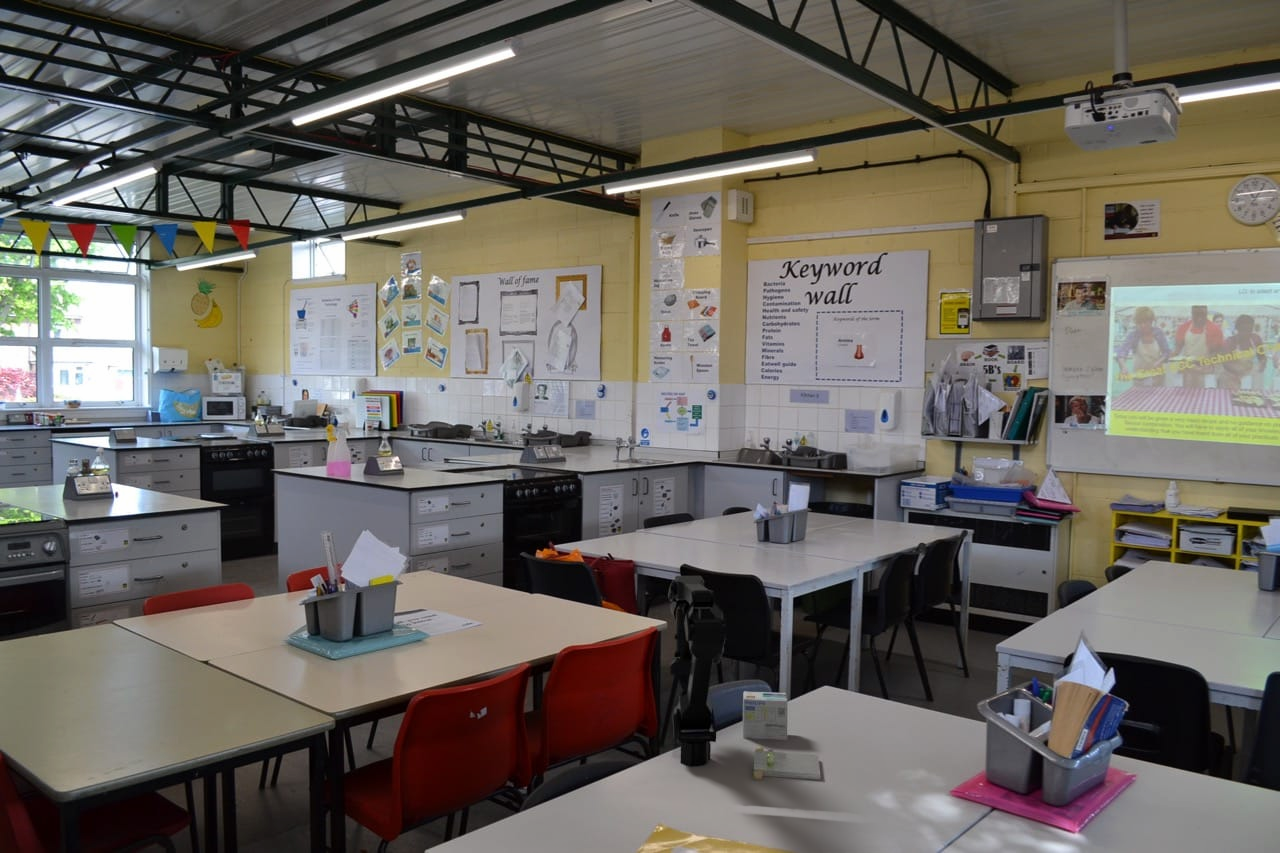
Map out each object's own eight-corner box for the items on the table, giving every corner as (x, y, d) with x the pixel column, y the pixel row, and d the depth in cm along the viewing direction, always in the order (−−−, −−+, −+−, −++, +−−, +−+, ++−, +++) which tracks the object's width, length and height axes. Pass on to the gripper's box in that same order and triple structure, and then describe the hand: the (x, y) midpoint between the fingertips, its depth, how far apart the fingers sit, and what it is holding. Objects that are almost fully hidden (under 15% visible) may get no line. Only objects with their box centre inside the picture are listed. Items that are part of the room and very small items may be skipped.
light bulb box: (786, 735, 222) (786, 691, 222) (788, 746, 215) (788, 700, 215) (742, 733, 223) (742, 690, 223) (742, 743, 216) (743, 698, 216)
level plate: (753, 775, 194) (753, 761, 194) (754, 755, 205) (754, 743, 205) (820, 779, 192) (820, 766, 192) (818, 760, 203) (818, 747, 203)
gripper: (719, 640, 203) (718, 709, 204) (724, 621, 222) (723, 685, 222) (670, 638, 205) (669, 706, 205) (679, 619, 224) (678, 682, 224)
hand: (687, 695), depth 214 cm, fingers closed
